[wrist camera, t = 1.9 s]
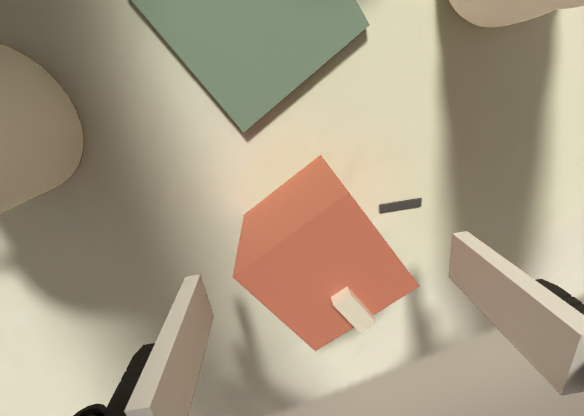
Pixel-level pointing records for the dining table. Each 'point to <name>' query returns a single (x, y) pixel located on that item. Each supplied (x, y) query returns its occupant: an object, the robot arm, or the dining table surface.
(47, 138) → the mug
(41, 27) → the dining table surface
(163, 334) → the robot arm
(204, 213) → the dining table surface
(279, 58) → the pad
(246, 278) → the orange box with tab
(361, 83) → the dining table surface
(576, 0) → the water bottle
